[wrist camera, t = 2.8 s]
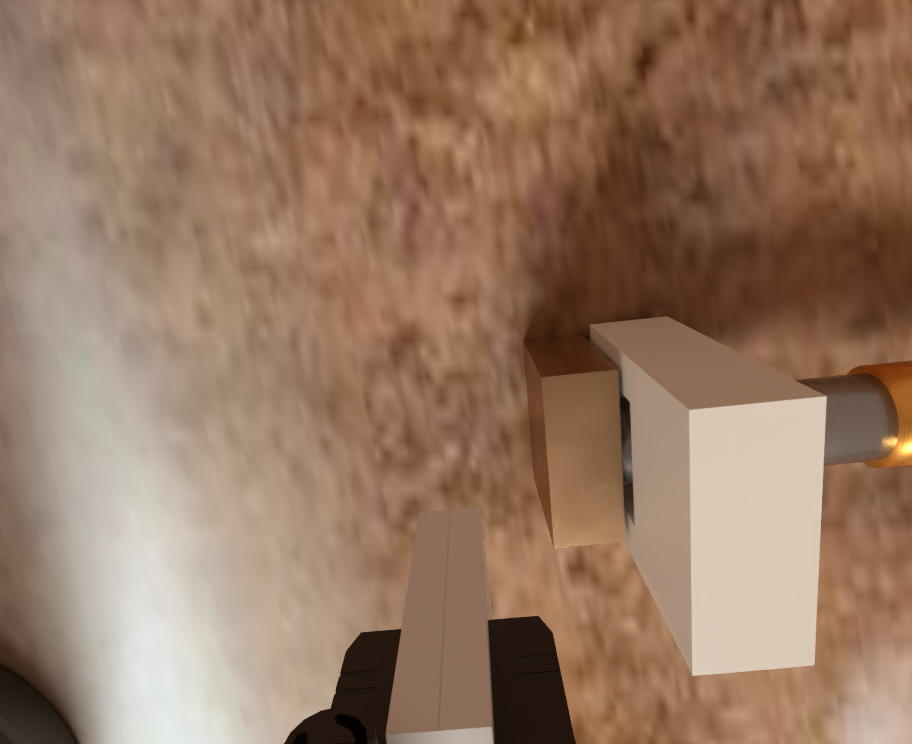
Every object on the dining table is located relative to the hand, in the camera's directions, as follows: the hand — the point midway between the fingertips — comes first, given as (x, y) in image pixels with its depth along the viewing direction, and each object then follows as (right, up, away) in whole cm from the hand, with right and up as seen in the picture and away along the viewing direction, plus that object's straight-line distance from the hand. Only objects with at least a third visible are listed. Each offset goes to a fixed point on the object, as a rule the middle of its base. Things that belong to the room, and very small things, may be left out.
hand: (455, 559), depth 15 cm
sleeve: (+7, +3, +10) cm, 13 cm away
